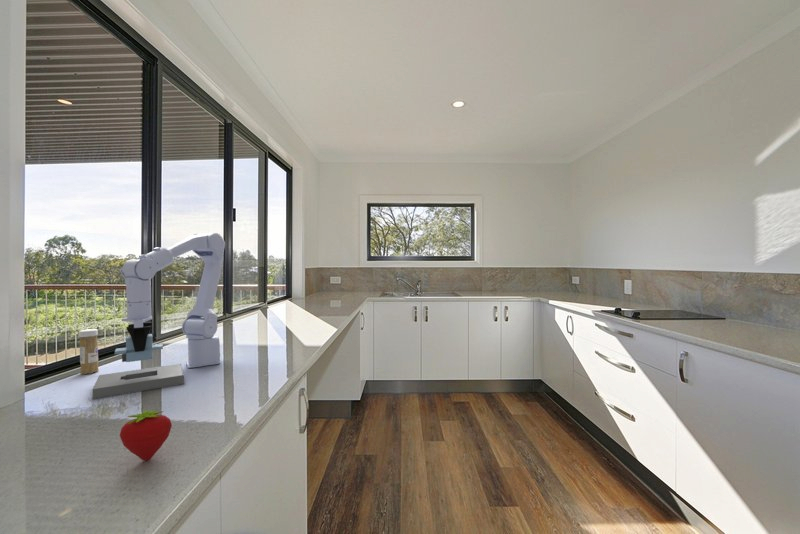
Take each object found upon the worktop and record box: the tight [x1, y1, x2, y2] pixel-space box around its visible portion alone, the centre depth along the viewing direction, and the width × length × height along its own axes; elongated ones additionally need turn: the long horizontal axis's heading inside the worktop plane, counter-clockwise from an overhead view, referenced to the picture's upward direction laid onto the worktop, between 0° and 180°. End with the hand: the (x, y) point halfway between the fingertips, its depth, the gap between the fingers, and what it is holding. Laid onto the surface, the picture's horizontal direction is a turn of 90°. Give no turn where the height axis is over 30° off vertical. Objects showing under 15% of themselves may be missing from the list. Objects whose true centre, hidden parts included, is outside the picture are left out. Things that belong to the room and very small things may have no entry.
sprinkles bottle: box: [78, 328, 100, 375], centre depth 117 cm, size 5×5×14 cm
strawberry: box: [119, 404, 173, 462], centre depth 65 cm, size 6×8×10 cm
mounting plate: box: [92, 363, 185, 399], centre depth 105 cm, size 20×14×2 cm
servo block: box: [114, 333, 164, 363], centre depth 106 cm, size 11×4×7 cm, turn 123°
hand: (140, 349), depth 106 cm, fingers closed on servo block, 4 cm apart
